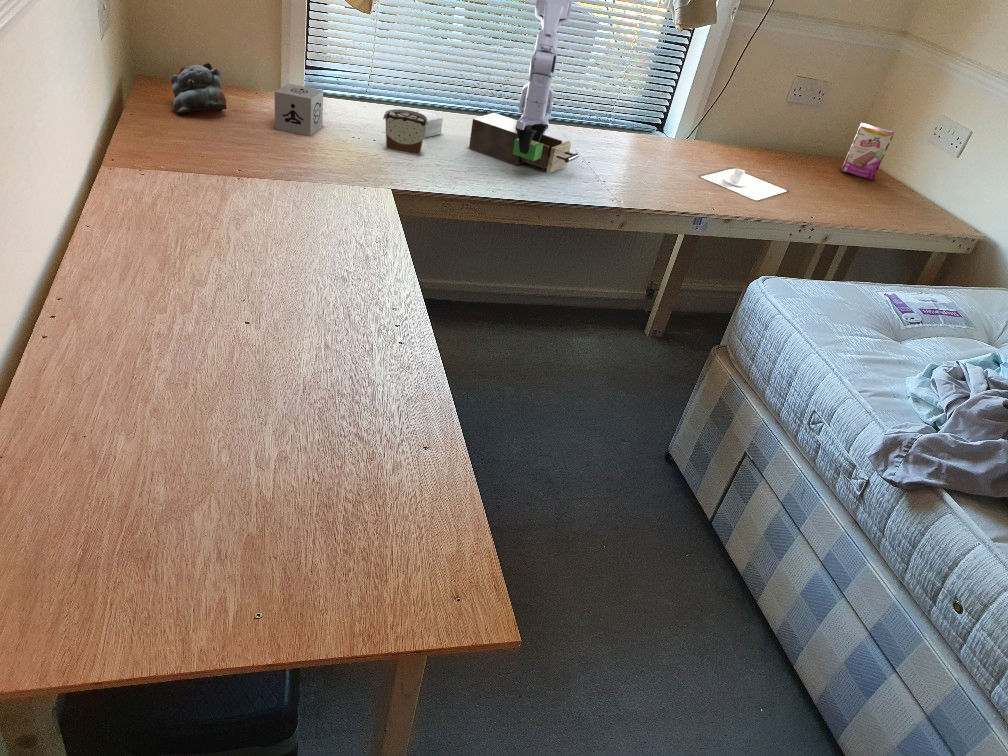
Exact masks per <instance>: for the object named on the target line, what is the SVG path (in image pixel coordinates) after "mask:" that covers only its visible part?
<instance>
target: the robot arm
mask: <svg viewBox="0 0 1008 756" xmlns="http://www.w3.org/2000/svg"><path fill="white" fill-rule="evenodd" d="M573 2H574V0H536V1H535V7H534V10H535V11H534V14H535V18H536V19H538V20H539V21H540V24H541V30H540V31H539V32H538V33H537V35H536V40H535V46H534V49H533V50H534V51H533V52H532V54H531V57H530V63H529V70H528V71H529V75H528V83H526V84H524V85H523V87H522V89H521V93H520V98H519V105H518V109H517V111H518V113H519V114H521V116H520V118H519V119H518V120H517V124H516V131H517V134H518V138H519V150H520V152H521V153H524V154H527V153H528V150H529V147H530V144H531V141H532V140H534V141H537V142H539V141H540V139H541V137H542V135H546V136H548V132H549V128H550V127H549V126H550V123H549V119H550V118H551V116H552V112H553V105H554V101H555V100H554V98H555V91H554V89H553V88H552V87H551V85H552V79H553V78H554V76H555V72H556V67H557V62H558V46H559V40H560V38H559V35H558V33H557V32H558V29H559V28H560V26H561V25H564V24H567V23H568V21H569V19H570V17H571V12H572V7H573Z"/></svg>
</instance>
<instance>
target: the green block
mask: <svg viewBox="0 0 1008 756" xmlns="http://www.w3.org/2000/svg"><path fill="white" fill-rule="evenodd" d="M542 149H543V143H540V142H537V141H534V140H532V141H531V144H530V147H529V150H528V153H527V154H524V153H521V152H520V150H519V138H518V139H516V140H515V143H514V149H513V154H514V155H517V156H520V157H523V158H525V159H528V160H531V161H535V160H537V159H540V158H541V155H542Z"/></svg>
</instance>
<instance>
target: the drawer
mask: <svg viewBox="0 0 1008 756" xmlns="http://www.w3.org/2000/svg"><path fill="white" fill-rule="evenodd" d="M539 142H540V143H543V149H542V155H541V158H540V159H537V160H535V161H531V160H528V159H525V158H523V157H520V160H521V161H524V162H525V163H526V164H529V165H533V166H535V167H539V168H541V169H546V173H549V174H551V173H553V172H555V171H557V170H560V169H562V168H564V167H567V165H568V163H570V162H573V161H575V160H576V159H579V157H580V155H579V153H578V152H575V153H572V152H570V151H571V146H572V142H571V141H568V140H567V141H565V142H563V140H561V139H558V138H556V137H552V136H549V135H547V136H546V135H542V137H541V139H540V141H539Z"/></svg>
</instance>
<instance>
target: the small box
mask: <svg viewBox="0 0 1008 756" xmlns="http://www.w3.org/2000/svg"><path fill="white" fill-rule="evenodd" d="M417 112H418V113H420V114H423V115H424V116H426V117H427V120H428V128H427V124H426V128H425V133H424V138H423V139H425V138H429V137H433V136H437V135H442V131H443V130H442V128H443V119H444V118H443V117H442V116H440V115H438V114H436V113H435V114H434V113H431V112H429V111H426V110H419V111H417Z"/></svg>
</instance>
